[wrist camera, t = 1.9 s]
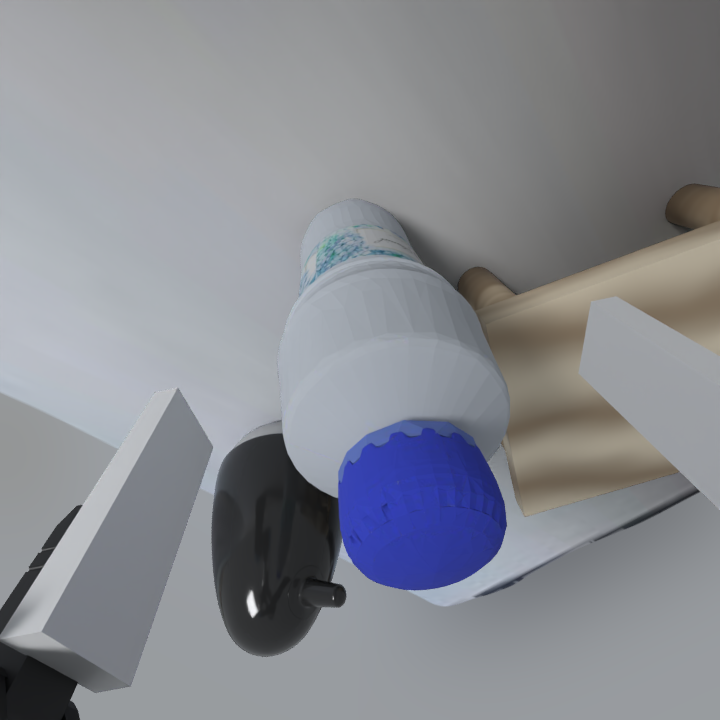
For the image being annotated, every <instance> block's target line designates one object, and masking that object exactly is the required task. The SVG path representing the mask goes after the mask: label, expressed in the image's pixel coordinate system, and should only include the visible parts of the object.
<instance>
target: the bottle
mask: <svg viewBox="0 0 720 720" xmlns="http://www.w3.org/2000/svg"><path fill="white" fill-rule="evenodd" d="M300 268H301V283H300V291H299V299H298V300H297V302H296V303H295V304H294V306H293V308H292V310H291V312H290V315H289V317H288V319H287V322H286V326H285V330H284V334H283V336H282V339H281V342H280V346H279V351H278V361H277V367H278V376H279V381H280V397H281V413H282V429H283V438H284V442H285V446H286V450H287V453H288V455H289V457H290V459H291V460H292V462H293V464H294V466H295V468H296V469H297V470H298V471H299V472H300V474H301V475H302V476H303V477H304V478H305V479H306V480H307V481H308V482H309V483H311V484H312V485H314V486H315V487H317V488H318V489H319V490H321V491H323V492H325V493H327V494H329V495H331V496H333V497H336V498H338V502H339V519H340V530H341V534H342V538H343V543H344V546H345V548H346V551H347V553H348V556H349V557H350V558H351V559H352V562H353V564H354V565H355V566H356V567H357V568H358V569H359V570H360V571H361V572H362V573H363V574H364V575H365V576H366V577H367V578H369V579H371V580H373V581H375V582H376V583H379V584H382V585H385V586H390V587H394V588H398V589H403V590H427V589H434V588H439V587H444V586H447V585H450V584H453V583H456V582H459V581H461V580H463V579H465V578H467V577H469V576H471V575H472V574H474V573H475V572H477V571H478V570H479V569H481V568H482V567H483V566H485V565H486V564H487V563H488V562H490V561H491V560H492V559H493V557H494V556H495V555H496V554H497V553H498V551H499V549H500V547H501V545H502V542H503V538H504V535H505V530H506V527H507V522H506V512H505V504H504V500H503V498H502V495H501V492H500V489H499V487H498V484H497V481H496V479H495V477H494V475H493V473H492V471H491V469H490V467H489V465H488V463H487V462H488V461H489V459H490V458H491V457H492V456H493V454H494V453H495V452H496V450H497V449H498V448H499V446H500V444H501V442H502V440H503V438H504V436H505V434H506V431H507V427H508V423H509V419H510V396H509V392H508V387H507V384H506V382H505V380H504V377H503V375H502V373H501V371H500V369H499V367H498V364H497V362H496V360H495V358H494V356H493V353H492V351H491V349H490V347H489V345H488V343H487V340H486V338H485V336H484V334H483V331H482V328H481V324H480V322H479V320H478V317H477V315H476V313H475V311H474V310H473V308H472V306H471V305H470V304H469V303H468V302H467V300H466V299H465V298H464V297H463V296H462V295H461V294H460V293H459V292H457V291H456V290H455V289H454V288H453V286H452V285H451V284H450V283H449V282H448V281H447V280H446V279H444V278H443V277H442V276H441V275H440V274H438V273H437V272H435V271H434V270H433V269H431V268H429V267H426V266H425V265H424V264H423V263H422V261H421V260H420V258H419V257H418V255H417V254H416V253H415V251H414V250H413V248H412V247H411V245H410V242H409V240H408V238H407V236H406V234H405V232H404V230H403V229H402V227H401V225H400V224H399V223H398V221H397V220H396V219H395V218H394V216H393V215H392V214H390V213H389V212H388V211H386V210H385V209H383V208H381V207H380V206H378V205H376V204H373V203H370V202H367V201H364V200H360V199H348V200H345V201H342V202H339V203H337V204H334V205H332V206H330V207H328V208H326V209H325V210H323V211H321V212H320V213H318V214H317V215H316V217H315V218H314V219H313V220H312V222H311V223H310V225H309V227H308V229H307V232H306V234H305V236H304V239H303V242H302V246H301V254H300Z"/></svg>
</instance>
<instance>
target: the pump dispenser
mask: <svg viewBox="0 0 720 720" xmlns="http://www.w3.org/2000/svg"><path fill="white" fill-rule="evenodd" d="M341 543H342V534H341V530H340V519H339V502H338V498H336V497H333V496H331V495H329V494H327V493H325V492H323V491H321V490H319V489H318V488H317V487H315V486H314V485H312V484H311V483H309V482H308V481H307V480H306V479H305V478H304V477H303V476H302V475H301V474H300V472H299V471H298V470H297V469H296V468H295V466H294V464H293V462H292V460H291V459H290V457H289V455H288V453H287V450H286V446H285V442H284V438H283V429H282V421H279V422H273V423H269V424H266V425H263V426H260V427H258V428H256V429H255V430H253V431H251V432H250V433H248V434H247V435H246V436H245V437H243V438H242V439H241V440H240V441H239V443H238V444H237V445H236V446H235V447H234V449H233V450H231V451H230V452H229V453H228V455H227V456H226V457H225V458H224V460H223V462H222V464H221V466H220V469H219V472H218V476H217V480H216V486H215V493H214V502H213V512H212V561H213V573H214V582H215V589H216V594H217V600H218V605H219V608H220V612H221V615H222V618H223V621H224V624H225V626H226V629H227V631H228V633H229V635H230V637H231V638H232V640H233V641H234V642H235V643H236V644H237V645H238V646H239V647H240V648H241V649H243V650H244V651H246V652H248V653H250V654H252V655H256V656H262V657H268V656H275V655H279V654H282V653H284V652H286V651H288V650H289V649H291V648H293V647H294V646H295V645H297V644H298V643H299V642H300V641H301V640H302V639H303V638H304V637H305V636H306V634H307V633H308V631H309V630H310V628H311V626H312V625H313V623H314V622H315V620H316V618H317V616H318V614H319V612H320V610H321V608H322V607H341V606H342V605H343V604H344V603H345V600H346V590H345V588H344V587H343V586H342V585H341V584H336V583H332V582H331V581H332V578H333V574H334V571H335V567H336V564H337V560H338V556H339V552H340V548H341Z"/></svg>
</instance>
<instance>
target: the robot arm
mask: <svg viewBox="0 0 720 720" xmlns="http://www.w3.org/2000/svg"><path fill="white" fill-rule="evenodd" d="M578 374H580V375H581V376H582V377H583V378H584V379H585V380H586V381H587V382H588V383H589V384H590V385H591V386H592V387H593V388H594V389H595V390H596V391H597V392H598V393H599V394H600V395H601V396H602V397H603V398H604V399H605V400H606V401H607V402H608V403H609V404H610V405H612V406H613V407H614V408H615V409H616V410H617V411H618V412H619V413H620V414H621V415H622V416H623V417H624V418H625V419H626V420H627V421H628V422H629V423H630V424H631V425H632V426H633V427H634V428H635V429H636V430H637V431H638V432H639V433H640V434H641V435H643V436H644V437H645V438H646V439H647V440H648V441H649V442H650V443H651V444H652V445H653V446H654V447H655V448H656V449H657V450H658V451H659V452H660V453H661V454H662V455H663V456H664V457H665V458H666V459H667V460H668V461H669V462H670V463H671V464H672V465H673V466H675V467H676V468H677V469H678V470H679V471H680V472H681V473H682V474H683V475H684V476H685V477H686V478H687V479H688V480H689V481H690V482H691V483H692V484H693V485H694V486H695V487H696V488H697V489H698V490H699V491H700V492H701V493H702V494H703V495H704V496H706V497H707V498H708V499H709V500H710V501H711V502H712V503H713V504H714V505H715V506H716V507H717V508H718V509H719V510H720V356H719V355H717V354H715V353H713V352H712V351H710V350H708V349H706V348H705V347H703V346H701V345H700V344H698V343H696V342H694V341H693V340H691V339H689V338H687V337H686V336H684V335H682V334H681V333H679V332H677V331H675V330H674V329H672V328H670V327H668V326H667V325H665V324H663V323H662V322H660V321H658V320H656V319H655V318H653V317H651V316H649V315H648V314H646V313H644V312H643V311H641V310H639V309H637V308H636V307H634V306H632V305H630V304H629V303H627V302H625V301H624V300H622V299H620V298H618V297H617V296H615V297H610V298H605V299H600V300H596V301H591V304H590V310H589V316H588V321H587V327H586V333H585V338H584V344H583V350H582V355H581V361H580V367H579V372H578ZM212 450H213V446H212V444H211V442H210V441H209V439H208V437H207V436H206V434H205V432H204V431H203V429H202V427H201V425H200V424H199V422H198V420H197V419H196V417H195V415H194V414H193V412H192V410H191V409H190V407H189V405H188V404H187V402H186V400H185V399H184V397H183V395H182V394H181V392H180V390H179V389H178V388H173V389H168V390H164V391H159V392H155V393H154V394H153V396H152V397H151V399H150V401H149V402H148V404H147V405H146V407H145V408H144V410H143V412H142V413H141V415H140V416H139V418H138V419H137V421H136V423H135V424H134V426H133V427H132V429H131V430H130V432H129V434H128V435H127V437H126V438H125V440H124V441H123V443H122V445H121V446H120V448H119V449H118V451H117V452H116V454H115V455H114V457H113V459H112V460H111V462H110V464H109V465H108V467H107V469H106V470H105V471H104V473H103V474H102V476H101V477H100V479H99V481H98V482H97V484H96V485H95V487H94V488H93V490H92V492H91V493H90V495H89V497H88V498H87V500H86V501H85V503H84V504H83V505H79V506H76V507H75V508H74V509H73V510H72V511H71V512H70V513H69V514H68V515H67V516H66V517H65V518H64V519H63V520H62V521H61V522H60V523H59V524H58V525H57V526H56V528H55V529H54V531H53V532H52V534H51V535H50V537H49V538H48V540H47V541H46V543H45V544H44V546H43V547H42V552H41V553H38V555H37V556H36V558H35V559H34V561H33V562H32V564H31V565H30V566H29V571H28V572H26V573H25V574H24V576H23V577H22V578H21V580H20V582H19V583H18V584H17V586H16V587H15V589H14V590H13V592H12V593H11V595H10V596H9V598H8V599H7V601H6V602H5V604H4V605H3V607H2V608H1V610H0V720H80V718H79V713H78V710H77V708H76V706H75V704H74V703H73V702H72V701H70V699H71V697H72V695H73V693H74V690H75V688H76V686H77V683H78V684H80V685H82V686H84V687H85V688H87V689H89V690H91V691H93V692H95V693H97V692H102V691H108V690H113V689H119V688H125V687H130V686H131V684H132V681H133V678H134V676H135V672H136V670H137V667H138V664H139V661H140V658H141V655H142V652H143V649H144V646H145V644H146V641H147V638H148V635H149V632H150V629H151V626H152V623H153V621H154V617H155V614H156V612H157V609H158V606H159V603H160V600H161V597H162V594H163V591H164V588H165V586H166V582H167V580H168V577H169V574H170V571H171V568H172V565H173V562H174V560H175V557H176V554H177V551H178V548H179V545H180V542H181V539H182V536H183V534H184V531H185V528H186V525H187V522H188V519H189V516H190V513H191V510H192V507H193V505H194V501H195V499H196V496H197V493H198V490H199V487H200V484H201V481H202V479H203V476H204V473H205V470H206V467H207V464H208V461H209V458H210V455H211V452H212Z"/></svg>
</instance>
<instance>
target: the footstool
mask: <svg viewBox="0 0 720 720" xmlns="http://www.w3.org/2000/svg"><path fill="white" fill-rule="evenodd" d="M665 214H666V218H667V220H668V221H669V222H671V223H674V224H677V225H681V226H684V227H688V228H691V229H695V230H692V231H689V232H687V233H684V234H681V235H679V236H676V237H673V238H671V239H668V240H665V241H662V242H660V243H657V244H654V245H652V246H649V247H646V248H644V249H641V250H638V251H635V252H633V253H630V254H627V255H625V256H622V257H619V258H617V259H614V260H611V261H608V262H606V263H603V264H600V265H598V266H595V267H592V268H589V269H587V270H584V271H581V272H579V273H576V274H573V275H571V276H568V277H565V278H562V279H560V280H557V281H554V282H552V283H549V284H546V285H544V286H541V287H538V288H535V289H533V290H530V291H527V292H525V293H522V294H519V295H515V294H514V293H513V292H512V291H511V290H509V289H508V288H507V287H506V286H505V285H504V284H503V283H502V282H501V281H499V280H498V279H497V278H496V277H495V276H494V275H493V274H492V273H491V272H489V271H488V270H487V269H485V268H483V267H474V268H471V269H469V270H468V271H466V272H465V273H464V274H463V275H462V277H461V278H460V280H459V284H458V290H459V293H460V294H461V295H462V296H463V297H464V298H465V299H466V300H467V302H468V303H469V304H470V305H471V306H472V308H473V310H474V311H475V313H476V315H477V317H478V320H479V322H480V324H481V328H482V331H483V334H484V336H485V338H486V340H487V343H488V345H489V347H490V349H491V351H492V353H493V356H494V358H495V360H496V362H497V364H498V367H499V369H500V371H501V373H502V375H503V377H504V380H505V382H506V384H507V387H508V392H509V396H510V419H509V423H508V427H507V431H506V434H505V436H504V438H503V440H502V442H501V444H502V446H503V448H504V449H505V451H506V456H507V461H508V465H509V470H510V475H511V479H512V484H513V488H514V493H515V498H516V501H517V503H518V505H519V507H520V509H521V511H522V513H523V514H524V516H525V517H527V516H530V515H533V514H537V513H540V512H544V511H547V510H551V509H554V508H558V507H561V506H564V505H568V504H571V503H575V502H578V501H582V500H585V499H588V498H592V497H595V496H599V495H602V494H606V493H609V492H613V491H616V490H619V489H623V488H626V487H630V486H633V485H637V484H640V483H644V482H647V481H650V480H654V479H657V478H661V477H664V476H668V475H671V474H674V473H678V472H680V471H679V470H678V469H677V468H676V467H675V466H673V465H672V464H671V463H670V462H669V461H668V460H667V459H666V458H665V457H664V456H663V455H662V454H661V453H660V452H659V451H658V450H657V449H656V448H655V447H654V446H653V445H652V444H651V443H650V442H649V441H648V440H647V439H646V438H645V437H644V436H643V435H641V434H640V433H639V432H638V431H637V430H636V429H635V428H634V427H633V426H632V425H631V424H630V423H629V422H628V421H627V420H626V419H625V418H624V417H623V416H622V415H621V414H620V413H619V412H618V411H617V410H616V409H615V408H614V407H613V406H612V405H610V404H609V403H608V402H607V401H606V400H605V399H604V398H603V397H602V396H601V395H600V394H599V393H598V392H597V391H596V390H595V389H594V388H593V387H592V386H591V385H590V384H589V383H588V382H587V381H586V380H585V379H584V378H583V377H582V376H581V375H580V374H578V372H579V367H580V361H581V355H582V350H583V344H584V338H585V333H586V327H587V321H588V316H589V310H590V304H591V301H596V300H600V299H605V298H610V297H615V296H617V297H618V298H620V299H622V300H624V301H625V302H627V303H629V304H630V305H632V306H634V307H636V308H637V309H639V310H641V311H643V312H644V313H646V314H648V315H649V316H651V317H653V318H655V319H656V320H658V321H660V322H662V323H663V324H665V325H667V326H668V327H670V328H672V329H674V330H675V331H677V332H679V333H681V334H682V335H684V336H686V337H687V338H689V339H691V340H693V341H694V342H696V343H698V344H700V345H701V346H703V347H705V348H706V349H708V350H710V351H712V352H713V353H715V354H717V355H719V356H720V188H718V187H712V186H706V185H700V184H689V185H687V186H684V187H683V188H681V189H680V190H678V191H677V192H676V193H675V194H674V195H673V196H672V198H671V199H670V201H669V202H668V205H667V207H666V213H665Z"/></svg>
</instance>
